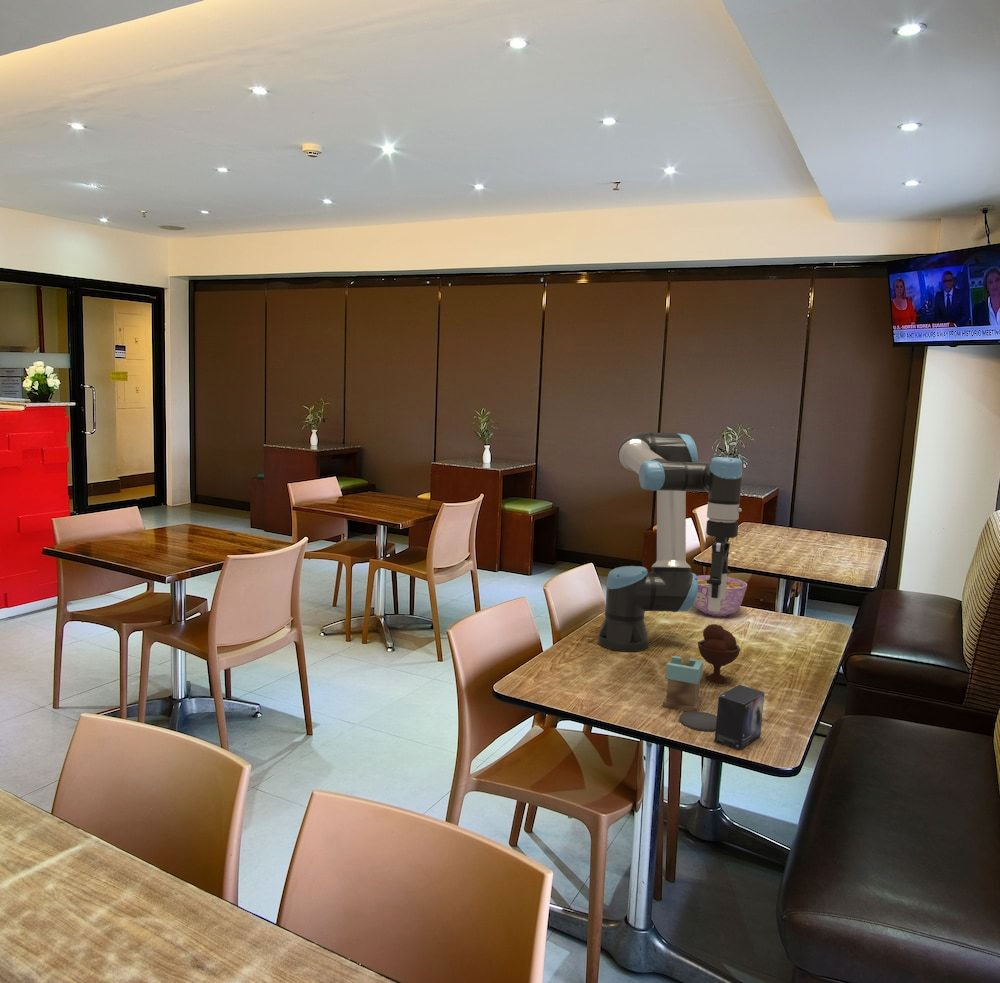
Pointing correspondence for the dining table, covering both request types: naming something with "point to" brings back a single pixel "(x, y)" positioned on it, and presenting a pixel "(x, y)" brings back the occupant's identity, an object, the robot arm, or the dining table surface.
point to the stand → (682, 692)
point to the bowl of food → (727, 606)
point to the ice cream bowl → (718, 650)
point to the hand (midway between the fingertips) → (716, 604)
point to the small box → (739, 716)
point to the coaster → (699, 720)
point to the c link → (684, 670)
